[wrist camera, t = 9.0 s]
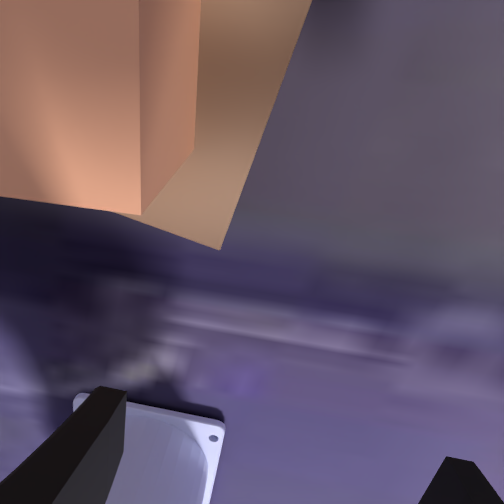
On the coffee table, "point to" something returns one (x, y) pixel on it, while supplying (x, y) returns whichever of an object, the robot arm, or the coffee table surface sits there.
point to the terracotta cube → (96, 99)
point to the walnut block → (227, 113)
